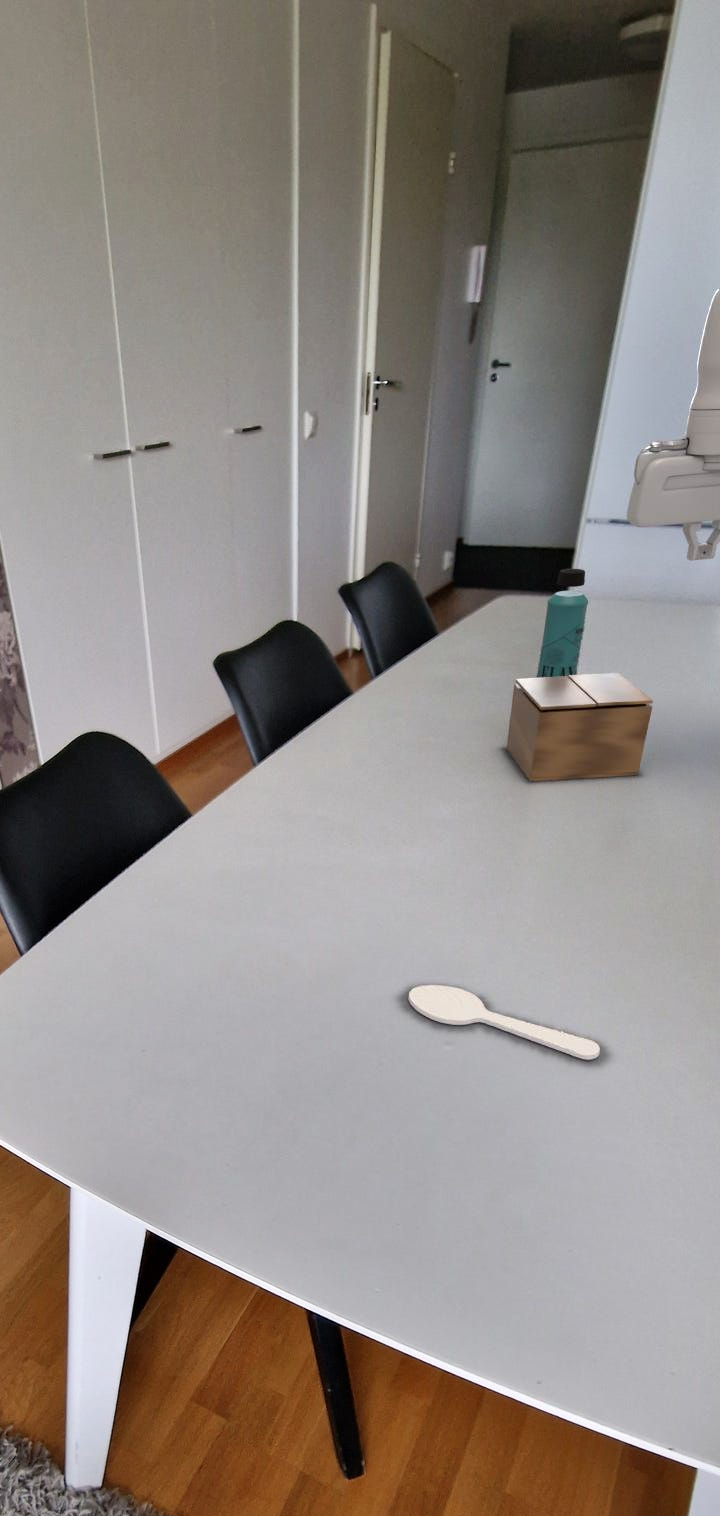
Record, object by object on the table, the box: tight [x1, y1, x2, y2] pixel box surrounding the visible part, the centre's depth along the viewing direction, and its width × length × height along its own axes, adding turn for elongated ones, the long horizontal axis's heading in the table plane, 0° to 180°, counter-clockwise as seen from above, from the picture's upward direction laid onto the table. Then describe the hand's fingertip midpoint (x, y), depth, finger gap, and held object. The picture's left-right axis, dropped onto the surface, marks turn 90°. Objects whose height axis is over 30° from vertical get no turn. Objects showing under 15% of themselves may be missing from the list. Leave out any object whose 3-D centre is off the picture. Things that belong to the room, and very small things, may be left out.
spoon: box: [408, 984, 601, 1061], centre depth 84 cm, size 5×18×1 cm, turn 54°
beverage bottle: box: [535, 568, 589, 678], centre depth 150 cm, size 6×7×20 cm
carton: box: [505, 676, 653, 782], centre depth 131 cm, size 15×13×10 cm
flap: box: [568, 672, 654, 706], centre depth 127 cm, size 7×13×1 cm, turn 2°
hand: (700, 559), depth 121 cm, fingers closed
